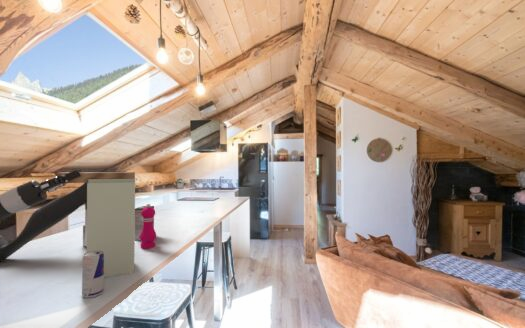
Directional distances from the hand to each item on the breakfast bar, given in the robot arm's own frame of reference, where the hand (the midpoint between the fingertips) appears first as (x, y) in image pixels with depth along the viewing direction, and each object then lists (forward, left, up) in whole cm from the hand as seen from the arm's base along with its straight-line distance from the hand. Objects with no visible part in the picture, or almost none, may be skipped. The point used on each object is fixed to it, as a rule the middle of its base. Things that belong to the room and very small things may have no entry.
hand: (80, 172), depth 90 cm
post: (+9, +5, -35) cm, 37 cm away
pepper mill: (+6, +32, -36) cm, 49 cm away
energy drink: (+14, -12, -36) cm, 40 cm away
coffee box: (-4, +46, -36) cm, 59 cm away
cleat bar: (+5, +3, -3) cm, 6 cm away
